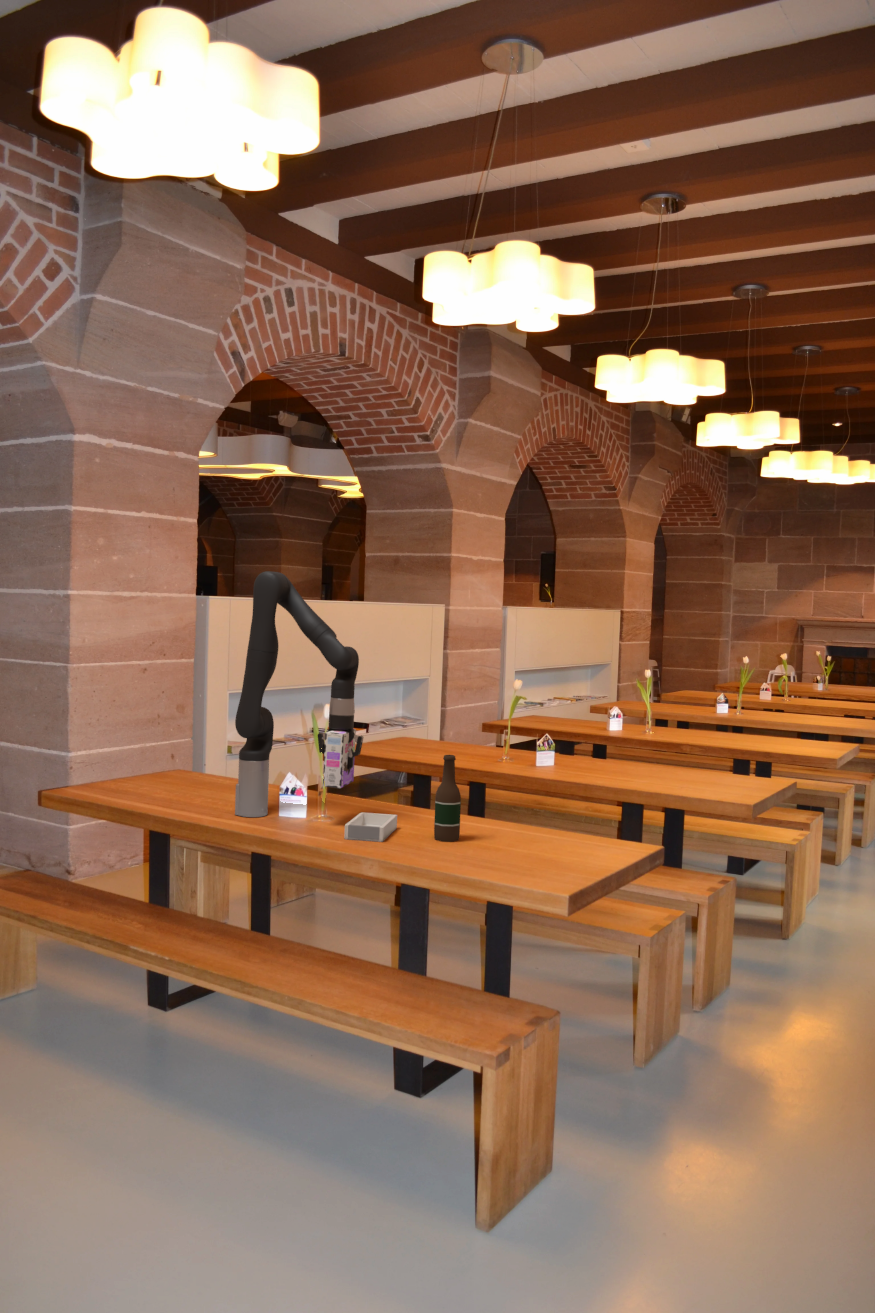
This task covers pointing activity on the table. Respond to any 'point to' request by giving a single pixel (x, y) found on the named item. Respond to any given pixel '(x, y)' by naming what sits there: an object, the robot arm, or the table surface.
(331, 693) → the robot arm
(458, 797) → the beer bottle
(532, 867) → the table surface
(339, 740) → the candy box
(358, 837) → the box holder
